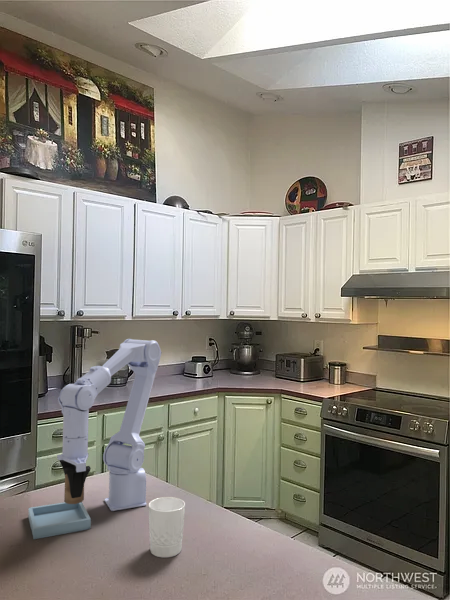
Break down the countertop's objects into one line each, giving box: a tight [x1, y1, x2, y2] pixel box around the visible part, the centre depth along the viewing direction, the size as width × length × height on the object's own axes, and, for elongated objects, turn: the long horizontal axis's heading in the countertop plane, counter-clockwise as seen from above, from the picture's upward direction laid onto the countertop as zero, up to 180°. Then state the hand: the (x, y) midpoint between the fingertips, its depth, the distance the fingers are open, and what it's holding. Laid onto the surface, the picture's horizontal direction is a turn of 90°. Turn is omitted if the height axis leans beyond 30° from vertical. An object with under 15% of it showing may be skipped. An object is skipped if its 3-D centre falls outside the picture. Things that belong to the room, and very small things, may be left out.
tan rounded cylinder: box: [63, 474, 85, 504], centre depth 115 cm, size 4×4×6 cm
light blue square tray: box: [27, 501, 92, 540], centre depth 118 cm, size 13×13×2 cm
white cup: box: [148, 496, 186, 559], centre depth 106 cm, size 8×8×10 cm
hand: (74, 493), depth 115 cm, fingers closed on tan rounded cylinder, 4 cm apart
